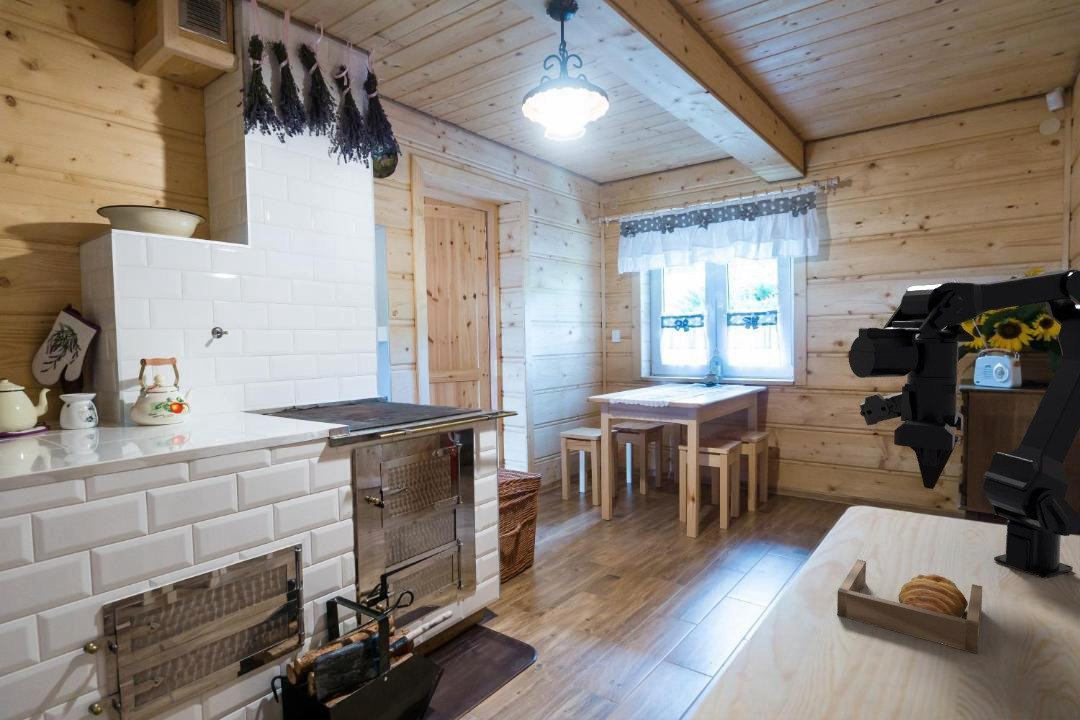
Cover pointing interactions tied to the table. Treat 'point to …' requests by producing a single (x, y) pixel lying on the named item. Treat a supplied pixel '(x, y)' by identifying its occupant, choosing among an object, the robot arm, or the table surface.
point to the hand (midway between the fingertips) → (929, 487)
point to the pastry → (934, 595)
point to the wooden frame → (909, 614)
